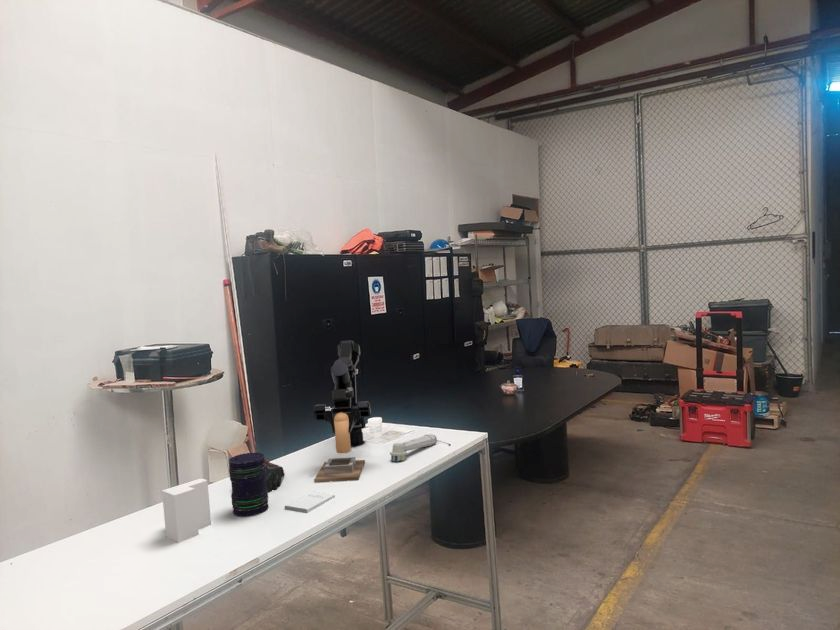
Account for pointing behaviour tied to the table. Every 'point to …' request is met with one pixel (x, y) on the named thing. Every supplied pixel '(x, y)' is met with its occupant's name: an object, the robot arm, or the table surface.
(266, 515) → the table surface
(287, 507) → the external hard drive
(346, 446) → the ball
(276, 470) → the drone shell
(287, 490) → the table surface
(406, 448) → the grey cylindrical tool
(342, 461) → the jig
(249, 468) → the storage jar
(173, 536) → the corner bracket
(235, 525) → the table surface
